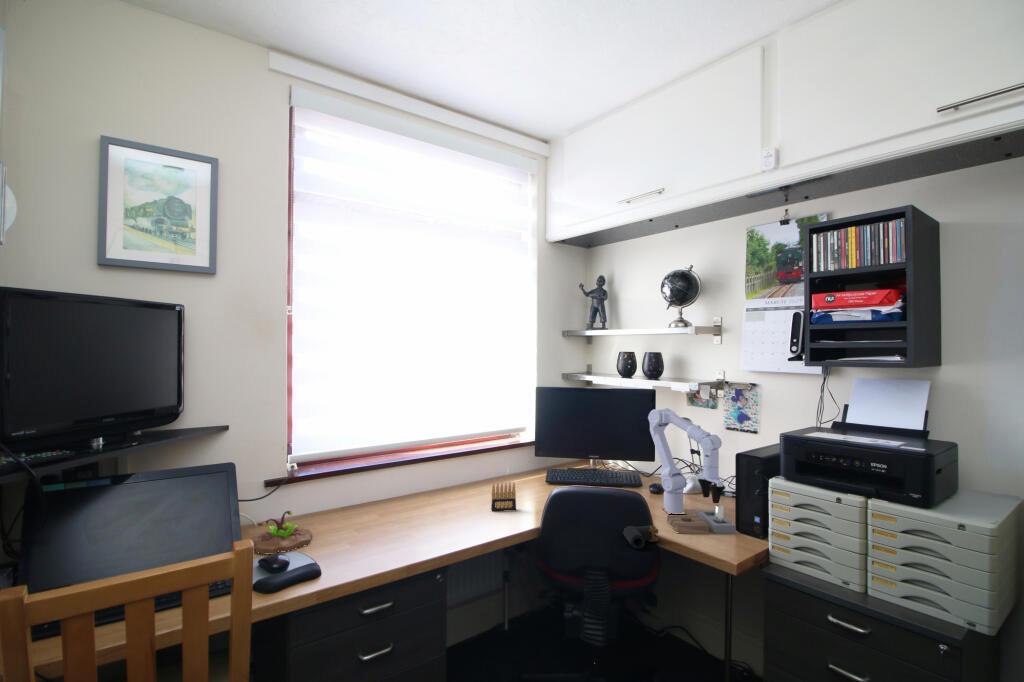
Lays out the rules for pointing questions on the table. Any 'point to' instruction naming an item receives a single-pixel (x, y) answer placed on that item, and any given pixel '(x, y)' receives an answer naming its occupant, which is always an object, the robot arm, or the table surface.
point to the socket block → (688, 524)
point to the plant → (281, 537)
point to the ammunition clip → (503, 498)
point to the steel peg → (719, 513)
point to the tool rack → (715, 527)
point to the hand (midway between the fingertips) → (710, 500)
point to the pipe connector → (640, 535)
